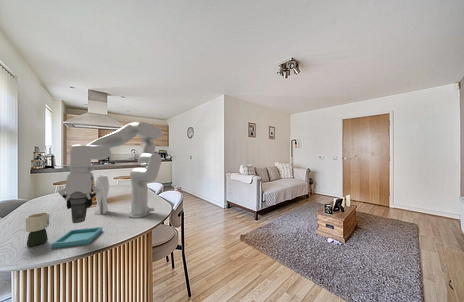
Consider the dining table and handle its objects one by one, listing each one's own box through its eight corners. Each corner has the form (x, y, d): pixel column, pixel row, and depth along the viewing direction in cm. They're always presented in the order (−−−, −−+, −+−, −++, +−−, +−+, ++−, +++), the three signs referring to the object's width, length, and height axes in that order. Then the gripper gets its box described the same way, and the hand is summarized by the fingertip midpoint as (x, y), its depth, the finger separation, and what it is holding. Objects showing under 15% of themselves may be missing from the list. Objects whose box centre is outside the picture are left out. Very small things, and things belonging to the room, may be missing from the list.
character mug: (53, 242, 79) (54, 214, 79) (30, 250, 72) (30, 219, 72) (43, 237, 83) (44, 210, 83) (21, 244, 77) (21, 215, 77)
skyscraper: (90, 214, 114) (91, 172, 115) (101, 210, 122) (101, 171, 123) (101, 215, 113) (102, 173, 114) (111, 211, 121) (112, 171, 122)
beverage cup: (76, 218, 85) (78, 178, 86) (92, 218, 86) (93, 178, 86) (63, 224, 78) (65, 180, 78) (80, 224, 79) (82, 180, 79)
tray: (102, 230, 91) (102, 226, 91) (88, 244, 78) (89, 239, 78) (70, 234, 87) (71, 230, 87) (51, 248, 74) (51, 243, 74)
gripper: (104, 169, 88) (104, 204, 88) (63, 170, 84) (62, 206, 83) (98, 170, 81) (97, 208, 81) (52, 171, 76) (51, 211, 76)
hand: (79, 207), depth 82 cm, fingers closed on beverage cup, 6 cm apart
